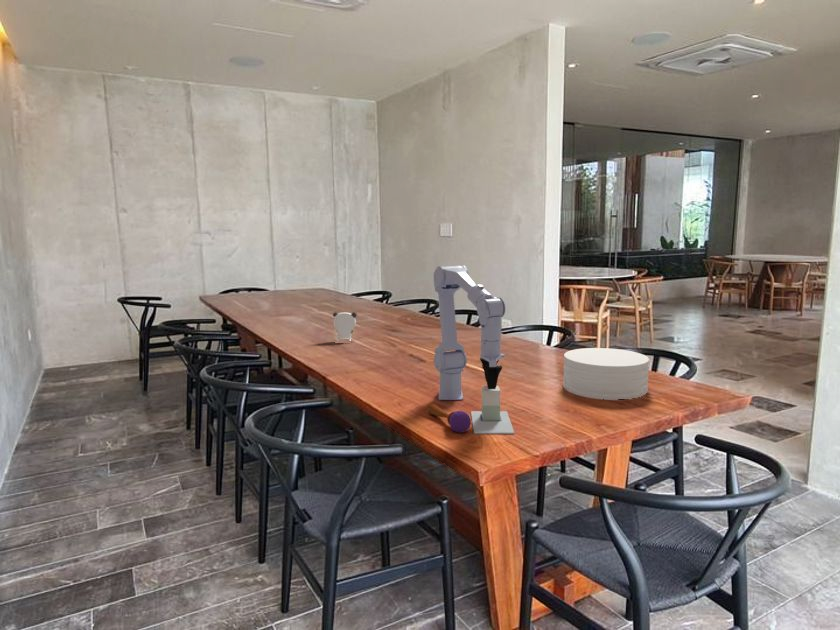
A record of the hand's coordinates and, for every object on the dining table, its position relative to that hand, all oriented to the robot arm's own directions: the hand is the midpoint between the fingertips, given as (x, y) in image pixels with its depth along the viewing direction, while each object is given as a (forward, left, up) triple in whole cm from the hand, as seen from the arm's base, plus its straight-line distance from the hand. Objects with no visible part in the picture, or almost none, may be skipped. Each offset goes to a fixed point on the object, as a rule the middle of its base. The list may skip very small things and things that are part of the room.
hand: (490, 385), depth 163 cm
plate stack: (-32, +42, -11) cm, 54 cm away
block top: (0, 0, -6) cm, 6 cm away
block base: (0, 0, -10) cm, 10 cm away
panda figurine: (-116, -64, -11) cm, 133 cm away
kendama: (+4, -13, -11) cm, 17 cm away
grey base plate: (+3, 0, -10) cm, 11 cm away
